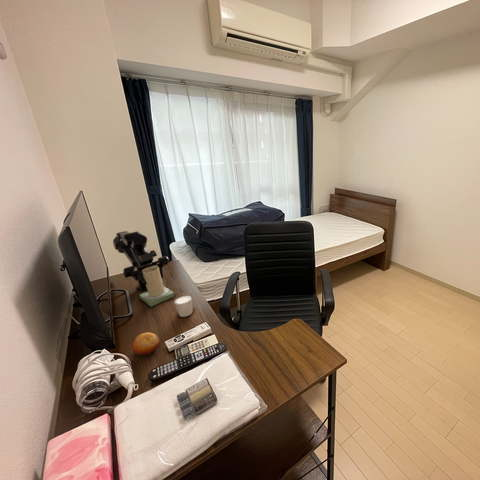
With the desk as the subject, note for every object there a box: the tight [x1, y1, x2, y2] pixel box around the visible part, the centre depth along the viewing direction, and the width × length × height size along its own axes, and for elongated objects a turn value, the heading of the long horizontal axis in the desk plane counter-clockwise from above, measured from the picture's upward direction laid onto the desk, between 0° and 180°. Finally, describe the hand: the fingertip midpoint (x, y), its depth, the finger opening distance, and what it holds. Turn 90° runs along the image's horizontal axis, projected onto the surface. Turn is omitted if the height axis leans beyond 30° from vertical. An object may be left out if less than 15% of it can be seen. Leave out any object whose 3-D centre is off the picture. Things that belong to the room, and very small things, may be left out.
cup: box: [142, 265, 165, 296], centre depth 123 cm, size 7×7×13 cm
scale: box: [139, 285, 175, 308], centre depth 126 cm, size 12×11×3 cm
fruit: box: [131, 331, 160, 356], centre depth 93 cm, size 8×8×8 cm
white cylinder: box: [174, 295, 194, 318], centre depth 114 cm, size 7×7×7 cm
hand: (154, 281), depth 122 cm, fingers closed on cup, 7 cm apart
